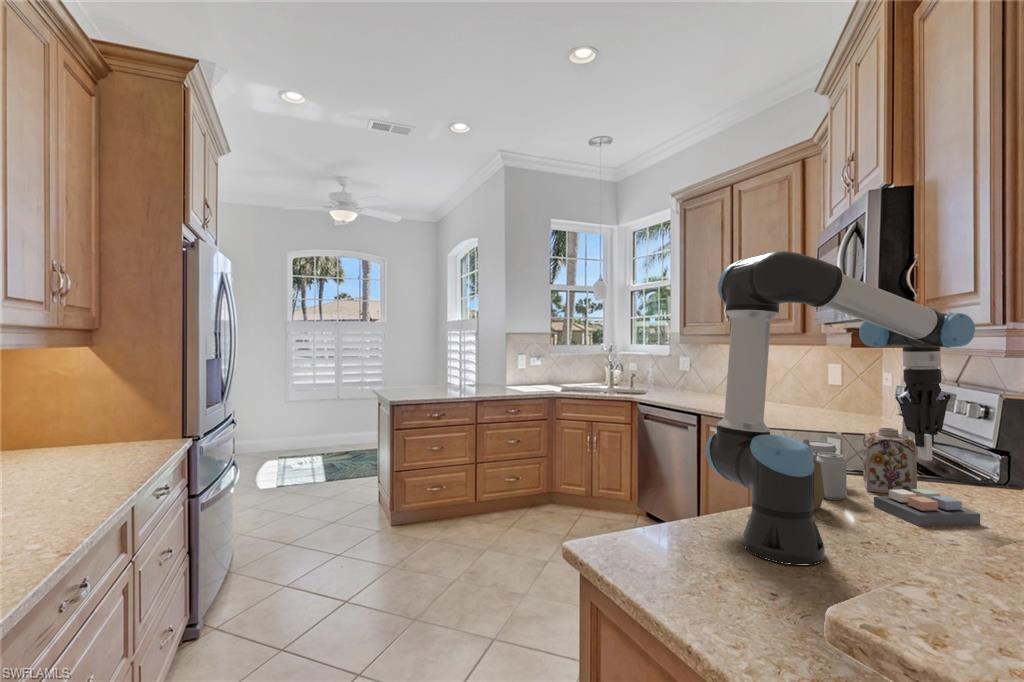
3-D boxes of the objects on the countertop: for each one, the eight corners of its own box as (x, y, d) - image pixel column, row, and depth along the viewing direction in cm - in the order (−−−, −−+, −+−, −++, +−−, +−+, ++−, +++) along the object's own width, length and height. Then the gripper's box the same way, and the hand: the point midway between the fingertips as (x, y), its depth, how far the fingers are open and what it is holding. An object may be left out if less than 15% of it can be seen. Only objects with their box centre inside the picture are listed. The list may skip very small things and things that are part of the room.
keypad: (919, 526, 117) (918, 515, 117) (873, 506, 131) (873, 496, 131) (980, 524, 118) (980, 513, 118) (928, 505, 132) (928, 495, 132)
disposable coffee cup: (837, 480, 156) (836, 442, 156) (837, 488, 148) (837, 447, 148) (802, 476, 161) (801, 439, 161) (800, 483, 153) (800, 444, 153)
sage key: (924, 506, 125) (924, 493, 125) (911, 501, 129) (911, 489, 129) (939, 505, 126) (939, 493, 126) (926, 500, 130) (925, 488, 130)
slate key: (946, 514, 119) (945, 501, 119) (931, 508, 123) (931, 496, 123) (962, 514, 120) (961, 501, 120) (946, 508, 124) (946, 496, 124)
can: (851, 501, 136) (851, 457, 136) (821, 499, 137) (821, 456, 137) (839, 493, 143) (839, 451, 143) (811, 491, 144) (810, 450, 144)
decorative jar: (917, 498, 138) (916, 433, 138) (866, 491, 144) (865, 430, 144) (910, 487, 148) (910, 427, 148) (863, 481, 154) (862, 423, 154)
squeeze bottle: (783, 501, 136) (782, 436, 136) (813, 501, 136) (812, 436, 136) (800, 512, 128) (799, 442, 128) (831, 512, 127) (830, 442, 127)
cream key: (901, 506, 125) (901, 494, 125) (889, 501, 129) (888, 489, 129) (916, 506, 125) (916, 494, 125) (903, 501, 129) (903, 489, 129)
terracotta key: (921, 515, 119) (921, 502, 119) (908, 509, 123) (907, 496, 123) (938, 514, 119) (937, 501, 119) (923, 509, 123) (923, 496, 123)
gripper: (909, 369, 123) (912, 464, 123) (960, 367, 123) (963, 461, 124) (885, 368, 131) (888, 457, 131) (933, 365, 131) (936, 454, 131)
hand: (925, 459), depth 127 cm, fingers closed
